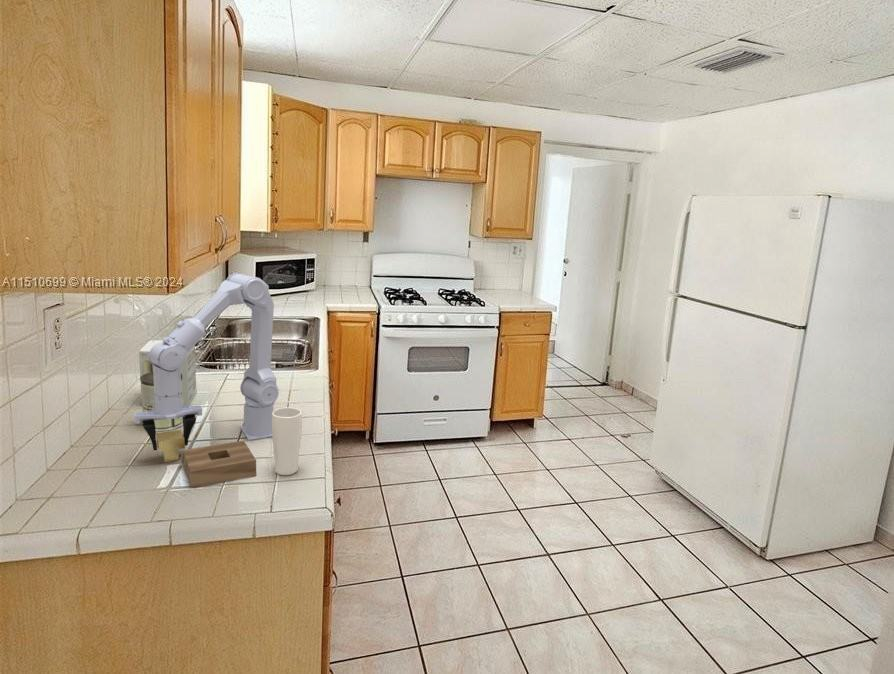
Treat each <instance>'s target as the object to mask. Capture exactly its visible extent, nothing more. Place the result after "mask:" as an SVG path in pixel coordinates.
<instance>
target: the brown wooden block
mask: <svg viewBox="0 0 894 674" xmlns="http://www.w3.org/2000/svg"><path fill="white" fill-rule="evenodd" d="M181 451H182V467H183V469H184V472H185V475H186V477H187V480H188V482H189V487H190V488H191V489H194V488H198V487H200V488H201V487H205V486H209V485H210V486H211V485H215V484H219V483H224V482H231V481H235V480H241V479H247V478H251V477H256V476H257V459H256V458H255V456H254V454H253V453H252V451H251V449H250V448H249V446H248V444H247V443H246V442H245V440H238V441H230V442H224V443H219V444H212V445H205V446H201V447H194V448H187V449H181Z"/></svg>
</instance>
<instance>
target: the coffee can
mask: <svg viewBox="0 0 894 674" xmlns="http://www.w3.org/2000/svg"><path fill="white" fill-rule="evenodd" d="M180 374H181V373H180ZM153 375H154V373H153V372H150V373H147V374H144V375H142V376H141V377H139V380H140V390H141V391H140V393H141V392H142V397H141V407H142V412H145V411H149V410H153V409H155V395H154V377H153ZM181 398H182V406H183V389H182V374H181ZM154 422H155V427H156V432H168V431H174V430H176V429H178V428H180V427H183V418H182V417H177V418H174V419H161V420H154Z"/></svg>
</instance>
